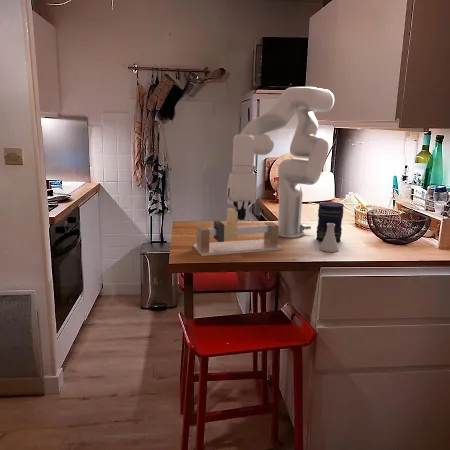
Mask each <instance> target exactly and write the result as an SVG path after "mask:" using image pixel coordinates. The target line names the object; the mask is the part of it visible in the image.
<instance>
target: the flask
mask: <svg viewBox="0 0 450 450" xmlns="http://www.w3.org/2000/svg"><path fill="white" fill-rule="evenodd" d="M334 226H335V224H333V223H327V231H326V235H325V237H324V239H323V241H322V242H321V244H320V246H319V250H320V251H324V252H328V253H329V252H330V253H335V252H339V246H338V243H337V242H336V238H335V234H334Z"/></svg>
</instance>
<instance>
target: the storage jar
mask: <svg viewBox="0 0 450 450" xmlns="http://www.w3.org/2000/svg"><path fill="white" fill-rule="evenodd" d="M344 207H345V206H344V203H341V202H335V201H320V202H319V203H318V210H317V218H318V220H317V226H316V239H315V240H316V241H317V242H320V243H322V241H323V239H324V237H325V235H326V231H327V223H333V224H335V226H334V234H335V238H336V242H337V244H339V243H341V237H342V234H343V233H342V232H343V231H342V230H343V229H342V224H343V223H342V222H343V221H342V220H343V218H344Z"/></svg>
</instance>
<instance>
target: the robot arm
mask: <svg viewBox="0 0 450 450" xmlns="http://www.w3.org/2000/svg"><path fill="white" fill-rule="evenodd" d="M274 102H275V103H274V104H273V105H271V107H270V109H269V110H268V111H266V112H264V113H262V114H261V115H259V116H258V117H256V118H254V119H252V120H251V121H250V122H249V123H247V125H246V126H245V127H244V128H243V129H242V130H241V132H240V133H239V134H235V135H234V137H233V139H232V141H233V142H232V146H233V147H232V170H231V171H232V172H229V175H228V176H229V177H228V181H227V187H226V188H227V189H226V198H227V202H226V203H227V204H228V205H233V206H234V207H235V208H236V211H238V218H237V220H239V221H245V218H246V216H247V215H246V213H247V210H248V207H249V206H250V205H253V204H256V203H257V202H256V201H257V200H256V198H257V183H256V181H257V180H256V179H257V178H256V174H255V173H254V171H256V170H257V169H258V167H257V165H255V164H254V160H255V156H256V155H259V156H266V155H268V154H270V153H271V152H272V151H273V149H274V146H275V143H274V140H273V138H272V137H271V136H270V135H268V133H270V132H273V131H277V130H280V129H282V128H284V127H286V126H287V124H288V123H289V122H290V120H291V119H292V117H294V115H295V114H296V116H297V125H296V129H295V132H294V135H293V136H292V140H291V142H290V146H289V153H290V155H291V156H293V157H294V158H286V159H284V160H282V161H280V163H279V165H278V167H277V174H278V181H279V183H278V185H279V192H278V193H279V195H278V212H277V213H278V215H277V225H278V226H279V230H278V237H282V238H289V239H291V238H292V239H296V238H297V239H298V238H301V237H304V234H305V233H304V231H305V230H306V231H307V230H312V229H311V228H312V226H311V225H310V224H305V223H304V224H303V223H301V222H302V207H303V206H302V205H303V196H304V195H303V190H302V187H301V185H306V186H312V185H315V184H316V183H318V181H319V179H320V177H321V174H322V171H323V169H324V165H325V163H326V159H327V157H328V154H329V141H328V139H327V138H326V137H324V136H322V135H317V133H318V128H319V123H318V120H317V118H316V116H315V113H327V112H329V111H331V109H332V108H333V106H334V104H335V96H334V94H333V93H332V92H331V91H330V90H329V89H324V88H319V87H318V88H317V87H314V86H294V87H293V86H292V87H288V88H286V89H285V90H284V91H283V92H282V93H281V94H280V96H279V97H278V98H277V100H276V101H274ZM297 158H298V159H297Z"/></svg>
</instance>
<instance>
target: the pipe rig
mask: <svg viewBox="0 0 450 450" xmlns="http://www.w3.org/2000/svg"><path fill="white" fill-rule="evenodd" d="M278 230H279V226H278V224H276V223H275V222H273V221H272V222H271V221H270V222H268V221H267V222H264V224H251V225H250V224H249V225H237V235H241V234H242V235H243V234H245V235H247V234H261V233H264V238H262V239H260V238H259V239H248V240H246V239H245V240H228V241H224V242H218V241H217V242H210V237H212V236H213V237H214V236H216V235H217V234H218V228H217V227H214V226H213V227H207V226H206V225H201V226H200V225H197V226H196V243H194V244H193V248H194V249H195V250H196V251H197V252H198V253H199V255H201V257H208V256H219V255H231V254H246V253H258V252H260V253H261V252H272V251H282V250H283V246H282V245H279V244H278V243H279V236H278Z"/></svg>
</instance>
